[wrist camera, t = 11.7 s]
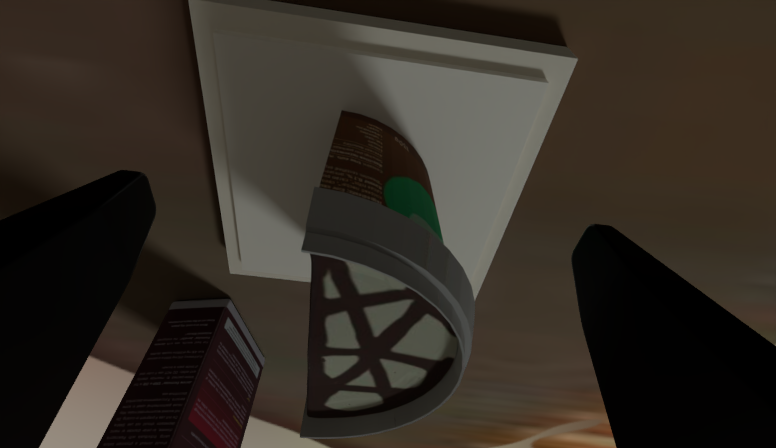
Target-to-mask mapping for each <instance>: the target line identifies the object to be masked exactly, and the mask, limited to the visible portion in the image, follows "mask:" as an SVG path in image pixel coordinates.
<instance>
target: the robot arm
mask: <svg viewBox="0 0 776 448" xmlns="http://www.w3.org/2000/svg"><path fill="white" fill-rule="evenodd" d="M155 215H156V205H155V201H154V198H153V194H152V191H151V188H150V184H149V181H148V178H147V176H146V175H145V174H144V173H142V172H137V171H128V170H120V171H117V172H115V173H112V174H110V175H108V176H105V177H103V178H100V179H98V180H96V181H93V182H91V183H88V184H86V185H84V186H81V187H79V188H77V189H74V190H72V191H69V192H67V193H65V194H62V195H60V196H57V197H55V198H53V199H50V200H48V201H45V202H43V203H41V204H38V205H36V206H34V207H31V208H29V209H26V210H24V211H22V212H19V213H17V214H14V215H12V216H10V217H7V218H5V219H2V220H0V448H39V446H40V445H41V443H42V441H43V439H44V437H45V435H46V434H47V432H48V430H49V428H50V426H51V424H52V423H53V421H54V419H55V417H56V415H57V413H58V412H59V410H60V408H61V406H62V404H63V402H64V401H65V399H66V396H67V395H68V393H69V391H70V389H71V388H72V386H73V384H74V382H75V380H76V378H77V376H78V375H79V373H80V371H81V369H82V367H83V366H84V364H85V362H86V360H87V358H88V356H89V355H90V353H91V351H92V349H93V347H94V345H95V344H96V342H97V340H98V338H99V336H100V334H101V333H102V331H103V329H104V327H105V325H106V323H107V322H108V320H109V318H110V316H111V314H112V312H113V311H114V309H115V307H116V305H117V303H118V301H119V299H120V298H121V296H122V294H123V292H124V290H125V288H126V286H127V284H128V282H129V280H130V278H131V276H132V274H133V271H134V269H135V266H136V264H137V261H138V259H139V256H140V254H141V251H142V249H143V246H144V244H145V241H146V239H147V236H148V234H149V231H150V228H151V226H152V223H153V221H154V218H155ZM571 261H572V269H573V275H574V281H575V287H576V293H577V299H578V306H579V312H580V317H581V322H582V327H583V331H584V335H585V338H586V342H587V345H588V349H589V352H590V356H591V359H592V363H593V366H594V370H595V373H596V377H597V380H598V384H599V388H600V391H601V395H602V398H603V402H604V405H605V409H606V412H607V416H608V419H609V423H610V426H611V430H612V433H613V437H614V440H615V444H616V447H617V448H776V346H775V345H773V344H772V343H771V342H769V341H768V340H766V339H765V338H764V337H762V336H761V335H760V334H758V333H757V332H756V331H754V330H753V329H751V328H750V327H749V326H747V325H746V324H745V323H743V322H742V321H741V320H739V319H738V318H736V317H735V316H734V315H732V314H731V313H730V312H728V311H727V310H725V309H724V308H723V307H721V306H720V305H719V304H717V303H716V302H715V301H713V300H712V299H710V298H709V297H708V296H706V295H705V294H704V293H702V292H701V291H700V290H698V289H697V288H695V287H694V286H693V285H691V284H690V283H689V282H687V281H686V280H684V279H683V278H682V277H680V276H679V275H678V274H676V273H675V272H674V271H672V270H671V269H669V268H668V267H667V266H665V265H664V264H663V263H661V262H660V261H659V260H657V259H656V258H654V257H653V256H652V255H650V254H649V253H648V252H646V251H645V250H644V249H642V248H641V247H639V246H638V245H637V244H635V243H634V242H633V241H631V240H630V239H628V238H627V237H626V236H624V235H623V234H622V233H620V232H619V231H618V230H616V229H615V228H613V227H612V226H609V225H600V224H591V225H589V226H588V227H587V228H586V230H585V231H584V233H583V235H582V237H581V238H580V240H579V242H578V244H577V245H576V247H575V249H574V251H573V253H572V260H571Z"/></svg>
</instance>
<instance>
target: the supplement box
mask: <svg viewBox="0 0 776 448" xmlns="http://www.w3.org/2000/svg"><path fill="white" fill-rule="evenodd" d="M264 362H265V359H264V357H263V355H262V354H261V352H260V350H259V348H258V347H257V345H256V343H255V341H254V340H253V338H252V336H251V334H250V333H249V331H248V329H247V327H246V326H245V324H244V322H243V320H242V319H241V317H240V315H239V313H238V312H237V310H236V308H235V307H234V305H233V303H232V301H231V300H230V299H206V300H189V301H175V302H173V303H172V304H171V306H170V308H169V310H168V313H167V314H166V316H165V318H164V320H163V322H162V324H161V326H160V327H159V330H158V332H157V334H156V335H155V337H154V339H153V341H152V343H151V345H150V347H149V349H148V351H147V353H146V354H145V356H144V358H143V360H142V362H141V364H140V366H139V368H138V370H137V372H136V374H135V376H134V378H133V380H132V381H131V384H130V385H129V387H128V389H127V391H126V393H125V395H124V397H123V398H122V400H121V402H120V404H119V406H118V408H117V410H116V412H115V414H114V416H113V418H112V420H111V421H110V423H109V425H108V427H107V429H106V431H105V433H104V435H103V437H102V439H101V441H100V443H99V444H98V446H97V448H241V444H242V441H243V437H244V433H245V429H246V426H247V423H248V419H249V416H250V412H251V408H252V405H253V401H254V398H255V394H256V390H257V387H258V383H259V380H260V376H261V373H262V369H263V366H264Z"/></svg>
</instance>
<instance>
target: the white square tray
mask: <svg viewBox="0 0 776 448" xmlns="http://www.w3.org/2000/svg"><path fill="white" fill-rule="evenodd" d="M188 2H189V9H190V15H191V22H192V28H193V35H194V41H195V48H196V54H197V61H198V67H199V74H200V80H201V87H202V93H203V100H204V106H205V113H206V119H207V126H208V132H209V139H210V145H211V152H212V158H213V165H214V171H215V178H216V184H217V191H218V197H219V204H220V210H221V217H222V223H223V230H224V236H225V243H226V249H227V256H228V263H229V269H230V273H232V274H241V275H250V276H259V277H268V278H277V279H286V280H295V281H304V282H311V257H310V254H309V253H303V252H301V249H302V245H303V241H304V237H305V233H306V222H307V218H308V213H309V209H310V204H311V200H312V195H313V190H314V187H319V185H320V182H321V179H322V175H323V172H324V168H325V165H326V162H327V158H328V155H329V151H330V148H331V145H332V141H333V138H334V134H335V131H336V128H337V124H338V121H339V117H340V114H341V111H342V110H343V111H348V112H353V113H358V114H362V115H364V116H367V117H370V118H373V119H375V120H378V121H379V122H381V123H383V124H385V125H387V126H389V127H391V128H392V129H393V130H395V131H396V132H398V133H399V134H400V135H402V136H403V137H404V138H405V139H406V140H407V141H408V142H409V143H410V144H411V145H412V146H413V147H414V148H415V150H416V151H417V152H418V154H419V155H420V157H421V158H422V160H423V162H424V164H425V166H426V168H427V171H428V175H429V179H430V182H431V187H432V192H433V196H434V201H435V206H436V210H437V215H438V219H439V224H440V229H441V233H442V238H443V242H444V245H445V246H446V247H447V248H448V249H449V250H450V251H451V253H452V254H453V255H454V257H455V258H456V259H457V261H458V262H459V263H460V264H461V266H462V267H463V269H464V271H465V273H466V275H467V277H468V280H469V282H470V284H471V286H472V291H473V296H474V300H475V299H476V297H477V295H478V292H479V290H480V288H481V285H482V283H483V281H484V278H485V276H486V274H487V271H488V269H489V266H490V264H491V262H492V259H493V257H494V255H495V252H496V250H497V248H498V245H499V243H500V241H501V238H502V236H503V234H504V231H505V229H506V227H507V224H508V222H509V220H510V217H511V215H512V213H513V210H514V208H515V206H516V203H517V201H518V199H519V196H520V194H521V191H522V189H523V187H524V184H525V182H526V180H527V177H528V175H529V173H530V170H531V168H532V166H533V163H534V161H535V159H536V156H537V154H538V152H539V149H540V147H541V145H542V142H543V140H544V138H545V135H546V133H547V131H548V128H549V126H550V124H551V121H552V119H553V117H554V114H555V112H556V109H557V107H558V105H559V102H560V100H561V98H562V95H563V93H564V91H565V88H566V86H567V84H568V81H569V79H570V77H571V74H572V72H573V70H574V67H575V65H576V63H577V60H578V58H577V57H576V56H575V55H574V54H573V53H572V52H571V50H570V49H569V48H568V47H564V46H558V45H551V44H545V43H539V42H532V41H526V40H519V39H513V38H507V37H500V36H494V35H487V34H481V33H475V32H468V31H462V30H456V29H449V28H443V27H436V26H430V25H424V24H417V23H411V22H405V21H398V20H392V19H385V18H379V17H373V16H366V15H360V14H354V13H347V12H341V11H334V10H328V9H322V8H315V7H309V6H302V5H296V4H290V3H283V2H277V1H271V0H188Z"/></svg>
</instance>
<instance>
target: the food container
mask: <svg viewBox="0 0 776 448" xmlns="http://www.w3.org/2000/svg"><path fill="white" fill-rule="evenodd" d="M301 252H303V253H309V254H310V257H311V289H310V317H309V336H308V354H307V355H308V379H307V398H306V404H305V409H304V415H303V421H302V427H301V433H300V437H301V438H316V439H333V438H350V437H360V436H366V435H372V434H378V433H382V432H386V431H390V430H394V429H397V428H400V427H403V426H406V425H408V424H411V423H414V422H416V421H418V420H420V419H422V418H424V417H426V416H428V415H429V414H431V413H432V412H433V411H435V410H436V409H438V408H439V407H441V406H442V405H443V404H444V403H445V402H446V401H447V400H448V399H449V398H450V397H451V396H452V395H453V393H454V392H455V390H456V389H457V387H458V386H459V384H460V382H461V379H462V376H463V373H464V370H465V368H466V366H467V363H468V360H469V357H470V354H471V346H472V337H473V327H474V315H475V301H474V296H473V291H472V286H471V284H470V282H469V280H468V277H467V275H466V273H465V271H464V269H463V267H462V266H461V264H460V263H459V262H458V261H457V259H456V258H455V257H454V255H453V254H452V253H451V251H450V250H449V249H448V248H447V247H446V246H445V245H444V242H443V238H442V233H441V229H440V224H439V219H438V215H437V210H436V206H435V201H434V196H433V192H432V187H431V182H430V179H429V175H428V171H427V168H426V166H425V164H424V162H423V160H422V158H421V157H420V155H419V154H418V152H417V151H416V150H415V148H414V147H413V146H412V145H411V144H410V143H409V142H408V141H407V140H406V139H405V138H404V137H403V136H402V135H400V134H399V133H398V132H396V131H395V130H393V129H392V128H391V127H389V126H387V125H385V124H383V123H381V122H379V121H378V120H375V119H373V118H370V117H367V116H364V115H362V114H358V113H353V112H348V111H343V110H342V111H341V114H340V117H339V121H338V124H337V128H336V131H335V134H334V138H333V141H332V145H331V148H330V151H329V155H328V158H327V162H326V165H325V168H324V172H323V175H322V179H321V182H320V185H319V187H314V190H313V195H312V200H311V204H310V209H309V213H308V218H307V222H306V233H305V237H304V241H303V245H302V249H301Z"/></svg>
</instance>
